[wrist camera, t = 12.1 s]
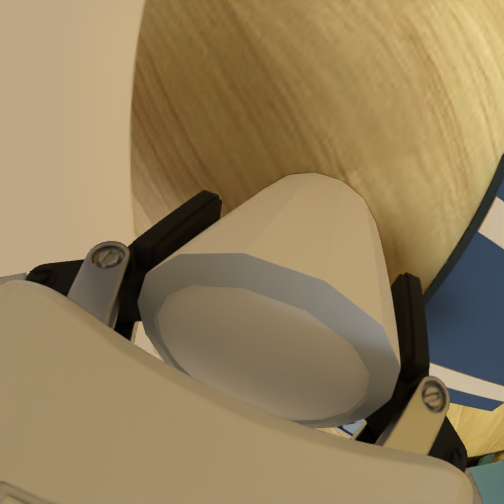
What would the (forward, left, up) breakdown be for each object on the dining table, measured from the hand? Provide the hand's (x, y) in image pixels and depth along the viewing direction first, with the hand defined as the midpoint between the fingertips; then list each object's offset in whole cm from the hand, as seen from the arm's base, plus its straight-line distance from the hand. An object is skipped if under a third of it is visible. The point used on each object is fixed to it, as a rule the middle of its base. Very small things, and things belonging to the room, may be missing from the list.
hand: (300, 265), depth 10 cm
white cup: (0, 0, -2) cm, 2 cm away
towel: (+13, 0, -2) cm, 13 cm away
